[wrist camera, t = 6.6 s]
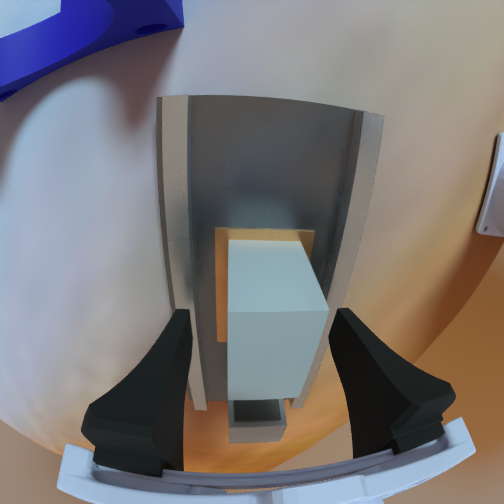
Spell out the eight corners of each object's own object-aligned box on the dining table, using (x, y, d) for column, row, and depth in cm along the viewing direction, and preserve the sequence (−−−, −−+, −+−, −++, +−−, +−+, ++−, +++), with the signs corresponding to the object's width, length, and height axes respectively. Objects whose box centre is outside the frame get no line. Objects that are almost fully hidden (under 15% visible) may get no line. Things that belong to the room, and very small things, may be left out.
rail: (368, 113, 12) (393, 118, 10) (302, 384, 23) (307, 406, 21) (164, 97, 11) (150, 97, 9) (191, 385, 22) (189, 409, 20)
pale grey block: (300, 241, 14) (329, 310, 9) (284, 331, 17) (297, 400, 13) (228, 239, 13) (227, 311, 9) (227, 331, 17) (228, 402, 12)
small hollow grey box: (277, 361, 19) (287, 423, 14) (272, 385, 20) (279, 441, 16) (227, 362, 18) (228, 425, 14) (227, 386, 20) (229, 443, 16)
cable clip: (180, -39, 7) (153, -98, 2) (184, 27, 9) (151, -18, 4) (2, 42, 7) (-63, 44, 2) (4, 101, 9) (-65, 119, 4)
